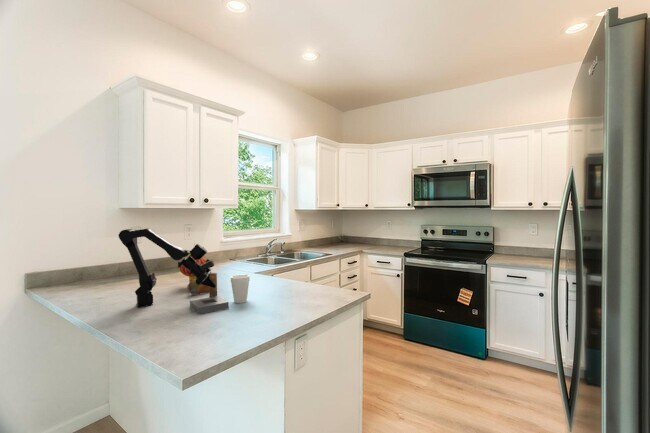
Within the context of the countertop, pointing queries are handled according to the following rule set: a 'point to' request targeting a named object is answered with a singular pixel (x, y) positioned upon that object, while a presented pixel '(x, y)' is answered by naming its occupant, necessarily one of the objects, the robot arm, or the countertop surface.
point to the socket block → (209, 304)
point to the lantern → (187, 272)
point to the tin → (197, 288)
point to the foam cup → (240, 287)
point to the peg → (214, 279)
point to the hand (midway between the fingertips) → (215, 286)
